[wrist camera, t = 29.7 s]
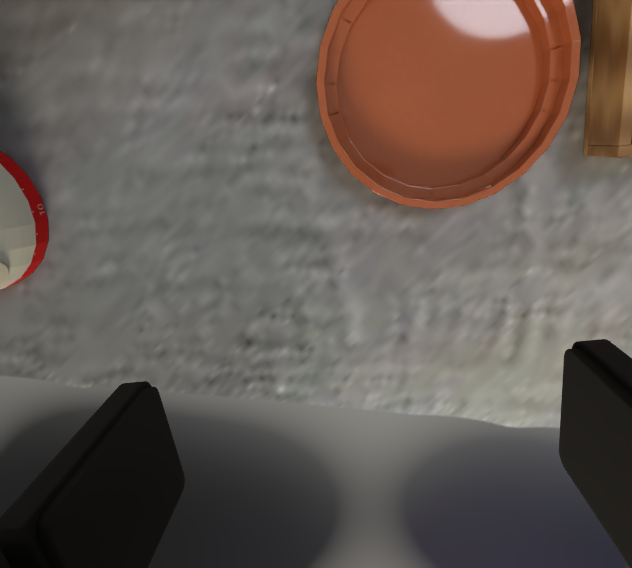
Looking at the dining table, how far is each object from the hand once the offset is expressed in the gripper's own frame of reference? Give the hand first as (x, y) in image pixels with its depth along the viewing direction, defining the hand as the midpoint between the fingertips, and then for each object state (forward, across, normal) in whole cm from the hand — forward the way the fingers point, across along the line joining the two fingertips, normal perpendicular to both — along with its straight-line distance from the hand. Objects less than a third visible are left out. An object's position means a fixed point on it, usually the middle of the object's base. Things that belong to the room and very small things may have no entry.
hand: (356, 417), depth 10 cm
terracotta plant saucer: (+28, -8, -9) cm, 31 cm away
